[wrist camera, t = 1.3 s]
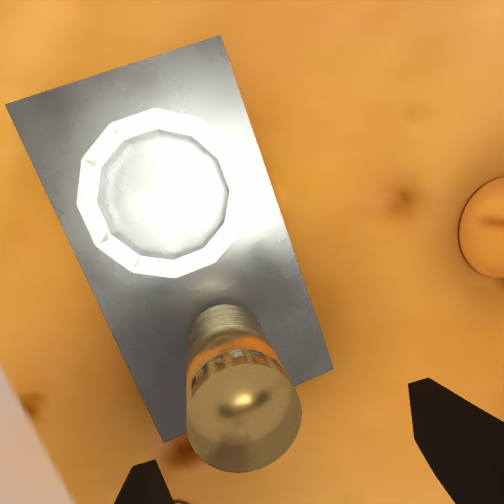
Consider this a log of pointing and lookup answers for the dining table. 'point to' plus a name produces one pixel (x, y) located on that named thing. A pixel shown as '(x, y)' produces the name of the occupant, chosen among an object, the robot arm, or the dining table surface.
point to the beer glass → (484, 230)
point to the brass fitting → (237, 393)
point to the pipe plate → (170, 214)
